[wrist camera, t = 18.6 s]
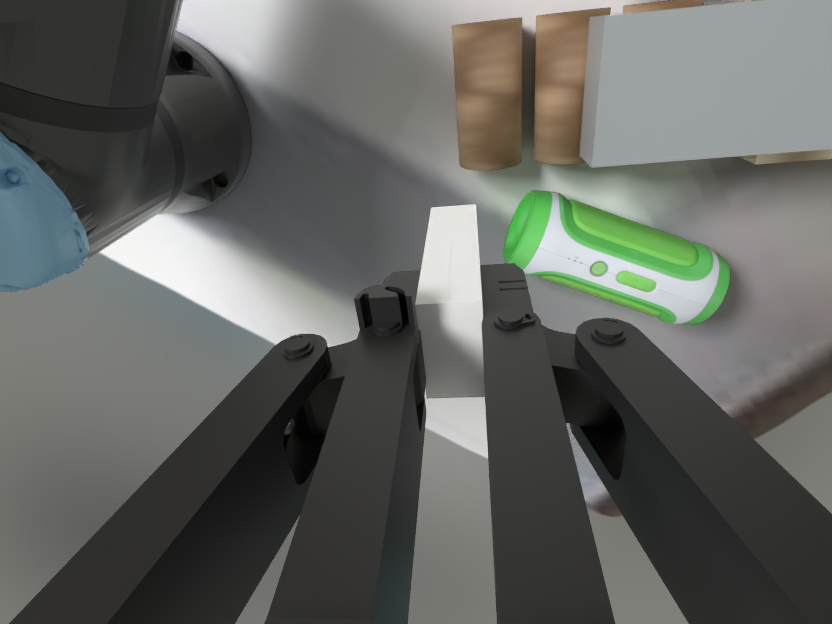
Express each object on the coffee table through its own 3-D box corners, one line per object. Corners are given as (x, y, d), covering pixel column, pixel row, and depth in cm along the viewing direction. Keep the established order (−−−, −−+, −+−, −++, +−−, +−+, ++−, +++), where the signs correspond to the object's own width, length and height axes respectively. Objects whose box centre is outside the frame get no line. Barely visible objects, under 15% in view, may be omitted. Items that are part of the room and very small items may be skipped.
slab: (579, 155, 37) (591, 167, 34) (589, 16, 33) (605, 16, 30) (834, 135, 36) (870, 145, 33) (881, -13, 31) (928, -17, 28)
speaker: (498, 245, 47) (502, 281, 41) (530, 173, 44) (541, 200, 37) (665, 303, 49) (695, 346, 42) (710, 238, 45) (750, 274, 39)
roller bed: (460, 157, 43) (459, 172, 39) (453, 25, 38) (451, 25, 34) (666, 140, 41) (689, 155, 37) (687, -2, 36) (716, -5, 32)
